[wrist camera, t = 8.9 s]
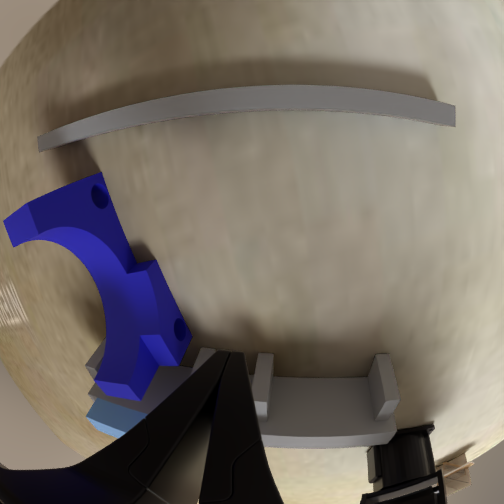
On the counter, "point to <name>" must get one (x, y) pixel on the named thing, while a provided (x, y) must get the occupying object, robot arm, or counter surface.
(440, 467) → the architectural model
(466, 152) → the counter surface
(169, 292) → the cable clip
